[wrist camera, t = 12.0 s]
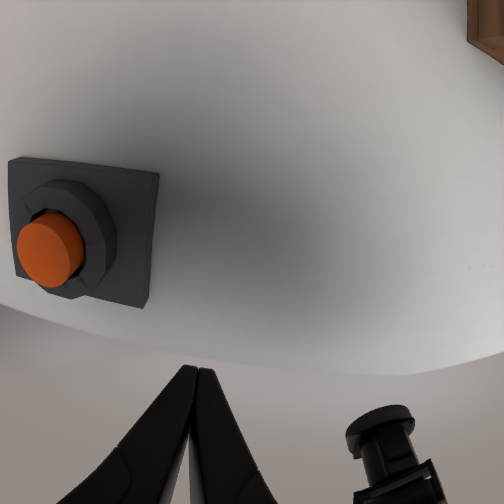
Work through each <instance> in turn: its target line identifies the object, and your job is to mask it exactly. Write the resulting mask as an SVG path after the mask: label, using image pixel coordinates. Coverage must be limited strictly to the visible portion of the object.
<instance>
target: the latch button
mask: <svg viewBox="0 0 504 504" xmlns="http://www.w3.org/2000/svg"><path fill="white" fill-rule="evenodd" d="M17 251H18V256H19V260H20V262H21V264H22V266H23V268H24V270H25V271H26V273H27V274H28V275H29V276H30V277H31V278H32V279H33V280H34V281H35V282H37V283H38V284H40V285H42V286H45V287H58V286H60V285H62V284H63V283H64V282H65V281H66V280H67V279H68V278H69V277H70V276H71V275H72V274H73V272H74V271H75V270H76V269H77V268H78V267H79V266H80V264H81V262H82V260H83V255H84V245H83V240H82V237H81V235H80V232H79V231H78V229H77V227H76V226H75V225H74V223H73V222H72V221H71V220H70V219H68V218H67V217H65V216H64V215H62V214H59V213H53V212H51V213H46V214H44V215H42V216H40V217H39V218H37V219H36V220H34V221H32V222H31V223H29V224H28V225H26V226H25V227H24V228H23V229H22V230H21V232H20V234H19V237H18V241H17Z"/></svg>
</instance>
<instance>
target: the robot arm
mask: <svg viewBox="0 0 504 504" xmlns="http://www.w3.org/2000/svg"><path fill="white" fill-rule="evenodd" d="M414 422H415V419H414V417H410V418H407V419H404V420H400V421H397V422H393V423H390V424H386V425H382V426H378V427H374V428H370V429H366V430H362V431H360V432H359V434H358V438H357V442H356V446H355V449H354V453H353V459H360V458H362V460H363V463H364V467H365V471H366V475H367V479H368V483H369V486H370V487H369V488H366V489H364V490H361V491H357V492H354V497H353V498H354V499H353V504H448V503H447V500H446V497H445V494H444V491H443V488H442V485H441V482H440V480H439V477H438V475H437V472H436V470H435V467H434V465H433V463H432V462H431V459H428V460H426V462H424V463H422V464H419V462H418V459H417V456H416V453H415V451H414V448H413V446H412V443H411V440H410V438H409V433H410V431H411V429H412V427H413V424H414ZM189 429H190V430H189ZM188 435H189V479H190V500H191V501H190V502H191V504H278V503H277V502H276V500H275V499H274V497H273V496H272V494H271V492H270V490H269V488H268V487H267V485H266V483H265V481H264V479H263V477H262V475H261V473H260V471H259V470H257V469H258V467H257V465H256V463H255V461H254V459H253V457H252V455H251V453H250V451H249V448H248V446H247V444H246V442H245V440H244V438H243V436H242V433H241V431H240V429H239V427H238V425H237V422H236V420H235V418H234V416H233V413H232V411H231V409H230V407H229V404H228V402H227V400H226V397H225V395H224V393H223V390H222V388H221V385H220V383H219V381H218V378H217V376H216V373H215V371H214V370H213V369H208V368H202V367H201V368H199V370H198V367H196V366H190V365H183V366H182V367H181V368H180V369H179V371H178V372H177V373H176V374H175V376H174V377H173V378H172V379H171V380H170V382H169V383H168V384H167V385H166V387H165V388H164V389H163V390H162V392H161V393H160V394H159V395H158V396H157V398H156V399H155V400H154V401H153V403H152V404H151V405H150V406H149V408H148V409H147V410H146V411H145V413H144V414H143V415H142V416H141V417H140V419H139V420H138V421H137V422H136V423H135V424H134V426H133V427H132V428H131V429H130V430H129V432H128V433H127V434H126V435H125V437H124V438H123V439H122V440H121V441H120V443H119V444H118V445H117V447H115V448H114V449H113V451H112V452H111V453H110V454H109V455H108V457H107V458H106V459H105V460H104V461H103V462H102V463H101V464H100V465H99V466H98V467H97V469H96V470H95V471H93V472H92V473H91V474H90V475H89V476H88V477H87V478H86V479H85V480H84V481H83V482H82V483H80V484H79V485H78V486H77V487H76V488H74V489H73V490H72V491H71V492H70V493H68V494H67V495H66V496H65V497H64V498H63V499H61V500H60V501H59V502H58V503H56V504H170V502H171V499H172V495H173V491H174V487H175V484H176V480H177V477H178V473H179V469H180V465H181V462H182V459H183V455H184V451H185V448H186V444H187V440H188ZM429 476H431V477H432V478H430V479H425V478H427V477H429Z"/></svg>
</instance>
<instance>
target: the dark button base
mask: <svg viewBox="0 0 504 504" xmlns="http://www.w3.org/2000/svg"><path fill="white" fill-rule="evenodd" d="M158 181H159V173H154V172H147V171H140V170H133V169H126V168H118V167H111V166H103V165H94V164H86V163H77V162H67V161H57V160H47V159H35V158H22V157H19V158H16V159H13V160H10V161H8V202H9V219H10V231H11V241H12V249H13V257H14V264H15V271H16V276H19V277H22V278H25V279H29V280H32V281H34V280H33V279H32V278H31V277H30V276H29V275H28V274H27V273H26V271H25V270H24V268H23V266H22V264H21V262H20V260H19V256H18V251H17V241H18V237H19V234H20V232H21V230H22V229H23V228H24V227H25V226H26V225H28V224H29V223H31V222H32V221H34V220H36V219H37V218H39V217H40V216H42V215H44V214H46V213H51V212H53V213H59V214H62V215H64V216H65V217H67V218H68V219H70V220H71V221H72V222H73V223H74V225H75V226H76V227H77V229H78V231H79V232H80V235H81V237H82V240H83V245H84V255H83V260H82V262H81V264H80V266H79V267H78V268H77V269H76V270H75V271H74V272H73V274H72V275H71V276H70V277H69V278H68V279H67V280H66V281H65V282H64V283H63V284H62V285H60V286H58V287H45V286H42V285H40V284H38V283H37V282H36V283H37V284H38V285H39V286H40V287H42V288H43V289H44V290H45V291H46V292H48V293H50V294H54V295H57V296H61V297H64V298H68V299H74V298H78V297H81V296H84V295H86V296H90V297H94V298H98V299H102V300H106V301H111V302H115V303H119V304H123V305H128V306H132V307H137V308H141V309H143V308H144V306H145V304H146V302H147V300H148V298H149V278H150V262H151V249H152V237H153V226H154V216H155V206H156V197H157V189H158Z"/></svg>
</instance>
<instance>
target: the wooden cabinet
mask: <svg viewBox="0 0 504 504" xmlns="http://www.w3.org/2000/svg"><path fill="white" fill-rule="evenodd" d="M467 41H468V42H469V43H471V44H473V45H474V46H476V47H478V48H479V49H481V50H482V51H484V52H485V53H487V54H488V55H490V56H491V57H493V58H494V59H496V60H497V61H499V62H500V63H501V64H503V65H504V0H468V40H467Z"/></svg>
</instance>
